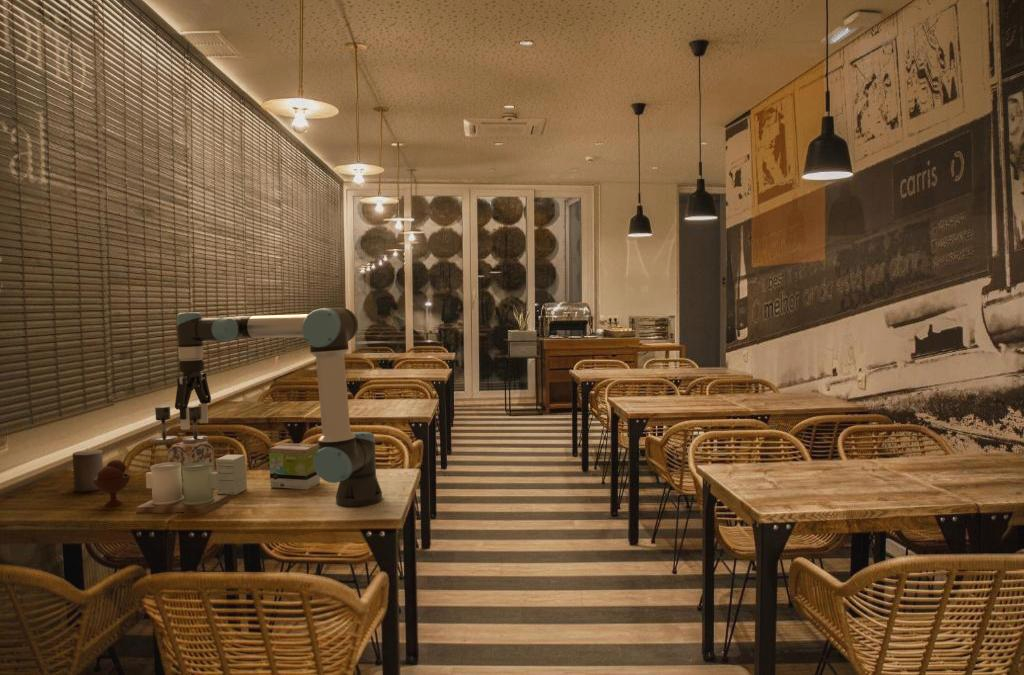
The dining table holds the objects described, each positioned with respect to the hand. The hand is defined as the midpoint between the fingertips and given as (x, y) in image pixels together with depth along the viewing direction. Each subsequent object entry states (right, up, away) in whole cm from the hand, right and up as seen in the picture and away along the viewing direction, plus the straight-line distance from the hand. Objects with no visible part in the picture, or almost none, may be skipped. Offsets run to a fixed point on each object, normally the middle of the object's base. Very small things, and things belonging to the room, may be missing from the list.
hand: (194, 426), depth 240 cm
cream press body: (-10, -25, +3) cm, 27 cm away
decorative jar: (-14, -26, +30) cm, 42 cm away
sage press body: (+1, -25, +1) cm, 25 cm away
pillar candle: (-52, -27, +29) cm, 65 cm away
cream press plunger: (-11, -5, +2) cm, 12 cm away
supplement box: (+5, -26, +19) cm, 33 cm away
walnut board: (-5, -27, +2) cm, 27 cm away
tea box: (+26, -25, +26) cm, 44 cm away
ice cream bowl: (-31, -28, +7) cm, 42 cm away
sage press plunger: (0, -5, 0) cm, 5 cm away
